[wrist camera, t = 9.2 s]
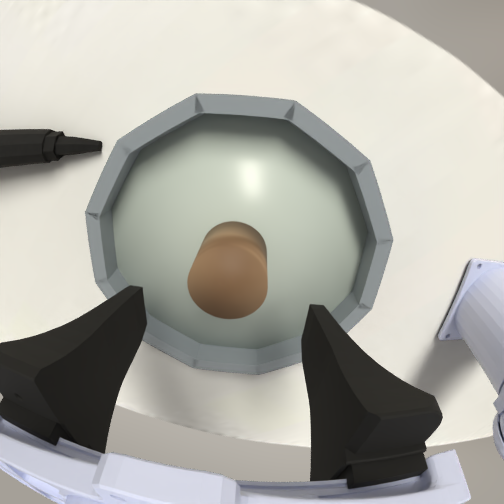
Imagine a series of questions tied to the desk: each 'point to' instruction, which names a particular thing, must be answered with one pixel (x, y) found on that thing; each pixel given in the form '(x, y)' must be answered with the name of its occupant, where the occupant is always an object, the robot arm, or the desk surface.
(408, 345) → the desk surface
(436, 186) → the desk surface
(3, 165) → the microphone
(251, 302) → the brown rounded piece
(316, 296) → the round tray
